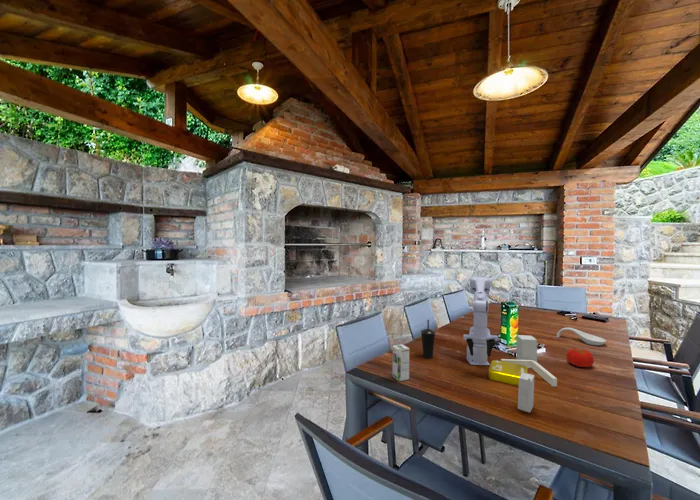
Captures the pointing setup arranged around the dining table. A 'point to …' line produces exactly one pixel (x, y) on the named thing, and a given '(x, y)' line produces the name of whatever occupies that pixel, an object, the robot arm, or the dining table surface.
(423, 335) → the drinking cup
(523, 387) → the skincare box
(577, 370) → the dining table surface
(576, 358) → the tomato
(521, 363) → the white l-shaped strip
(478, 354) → the robot arm
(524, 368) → the element tile
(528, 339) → the supplement box
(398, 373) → the syrup box
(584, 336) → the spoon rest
